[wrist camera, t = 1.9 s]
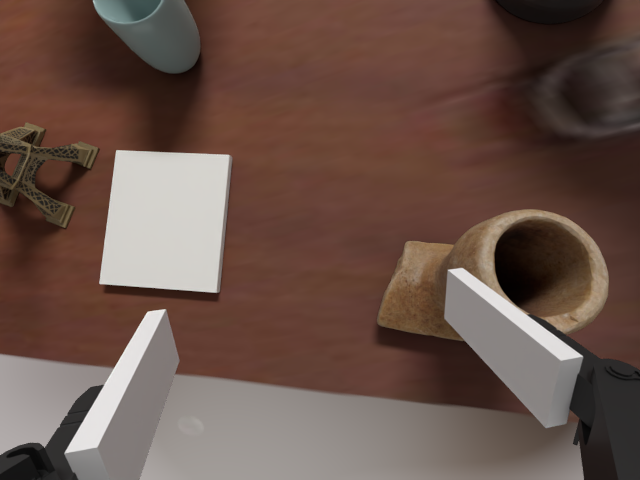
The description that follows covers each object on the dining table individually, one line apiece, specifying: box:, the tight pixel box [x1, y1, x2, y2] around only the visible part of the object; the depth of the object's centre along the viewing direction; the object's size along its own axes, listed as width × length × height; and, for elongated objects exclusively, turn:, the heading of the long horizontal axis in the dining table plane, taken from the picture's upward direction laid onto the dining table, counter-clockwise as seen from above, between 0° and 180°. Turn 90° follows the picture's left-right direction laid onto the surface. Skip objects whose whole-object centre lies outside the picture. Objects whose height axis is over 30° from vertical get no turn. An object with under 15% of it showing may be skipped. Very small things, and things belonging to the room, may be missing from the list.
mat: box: [99, 150, 232, 293], centre depth 40 cm, size 16×14×1 cm
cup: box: [93, 0, 201, 74], centre depth 37 cm, size 8×8×10 cm
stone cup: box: [377, 209, 609, 341], centre depth 30 cm, size 15×12×15 cm
